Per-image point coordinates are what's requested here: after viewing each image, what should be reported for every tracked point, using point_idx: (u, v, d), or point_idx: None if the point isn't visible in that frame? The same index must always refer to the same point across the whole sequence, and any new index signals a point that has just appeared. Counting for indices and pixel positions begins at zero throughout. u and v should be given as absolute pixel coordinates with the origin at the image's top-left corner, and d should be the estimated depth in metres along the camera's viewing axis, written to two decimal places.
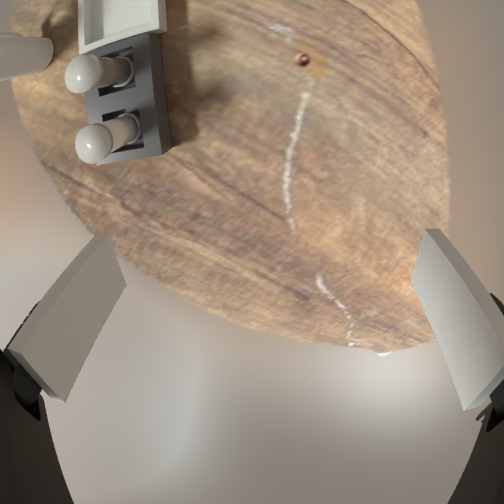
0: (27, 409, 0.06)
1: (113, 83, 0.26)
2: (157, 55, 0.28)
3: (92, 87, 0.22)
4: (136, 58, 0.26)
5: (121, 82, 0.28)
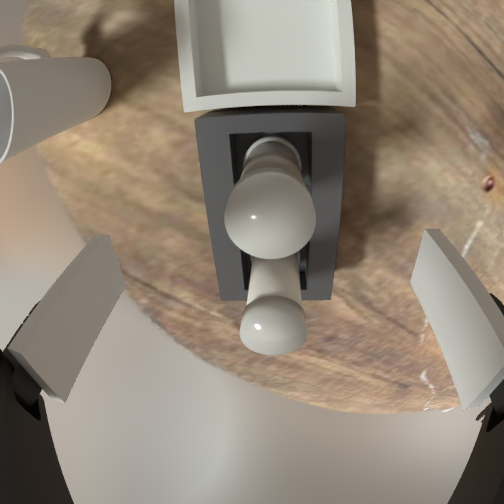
0: (27, 409, 0.06)
1: None
2: None
3: None
4: (319, 157, 0.19)
5: None
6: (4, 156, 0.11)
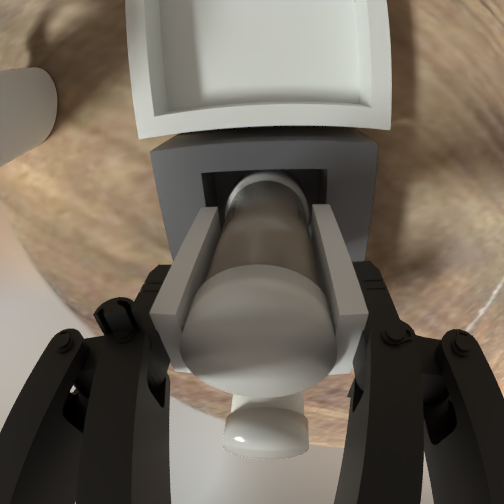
0: None
1: None
2: None
3: None
4: (336, 207, 0.13)
5: None
6: None
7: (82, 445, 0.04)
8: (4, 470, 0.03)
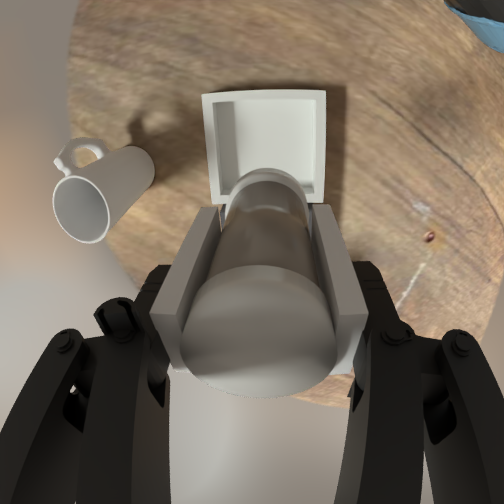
0: None
1: None
2: None
3: None
4: None
5: None
6: (100, 239, 0.24)
7: (82, 445, 0.04)
8: (5, 470, 0.03)
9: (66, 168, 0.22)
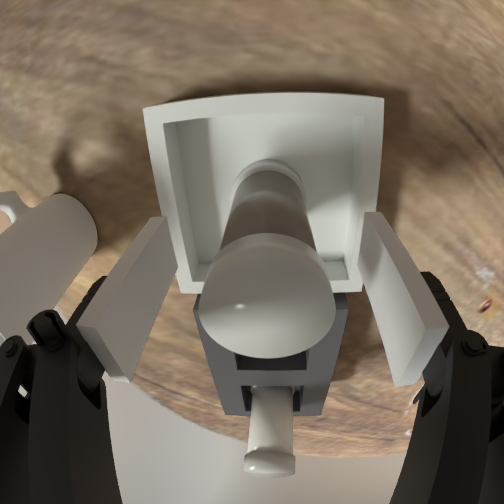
0: (86, 394, 0.07)
1: None
2: None
3: None
4: None
5: None
6: None
7: (29, 446, 0.04)
8: None
9: None
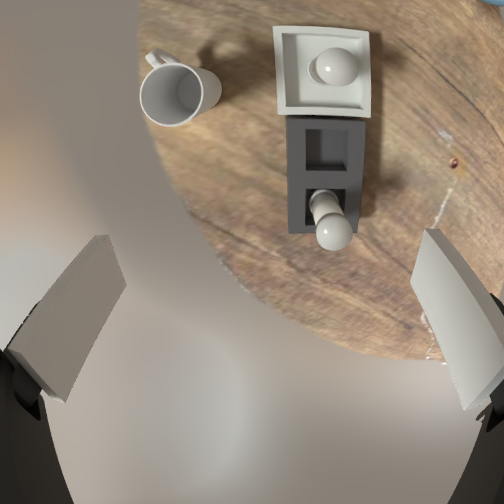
0: (27, 409, 0.06)
1: None
2: None
3: None
4: (351, 144, 0.33)
5: None
6: (187, 120, 0.26)
7: None
8: None
9: (157, 63, 0.24)
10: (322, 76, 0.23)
